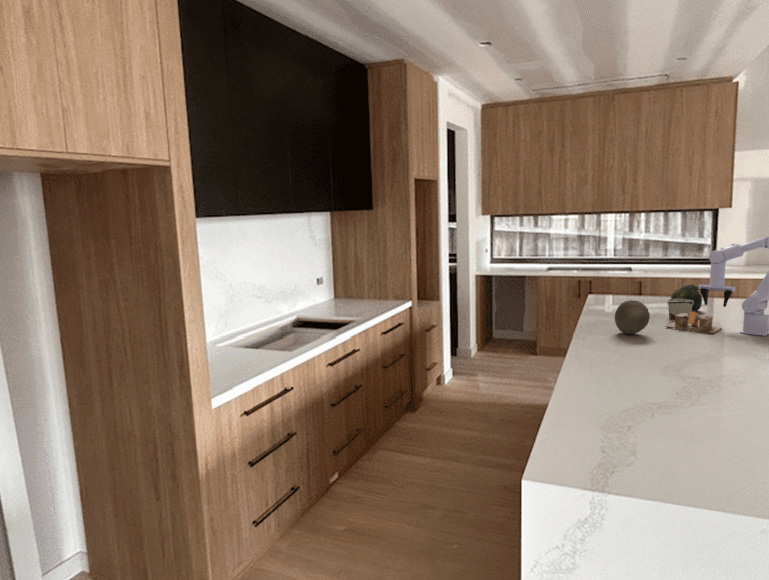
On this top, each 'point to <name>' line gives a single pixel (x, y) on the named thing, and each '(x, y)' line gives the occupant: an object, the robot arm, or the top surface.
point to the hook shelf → (703, 326)
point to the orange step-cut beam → (693, 318)
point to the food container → (679, 307)
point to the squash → (689, 295)
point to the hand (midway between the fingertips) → (715, 305)
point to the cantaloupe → (631, 317)
